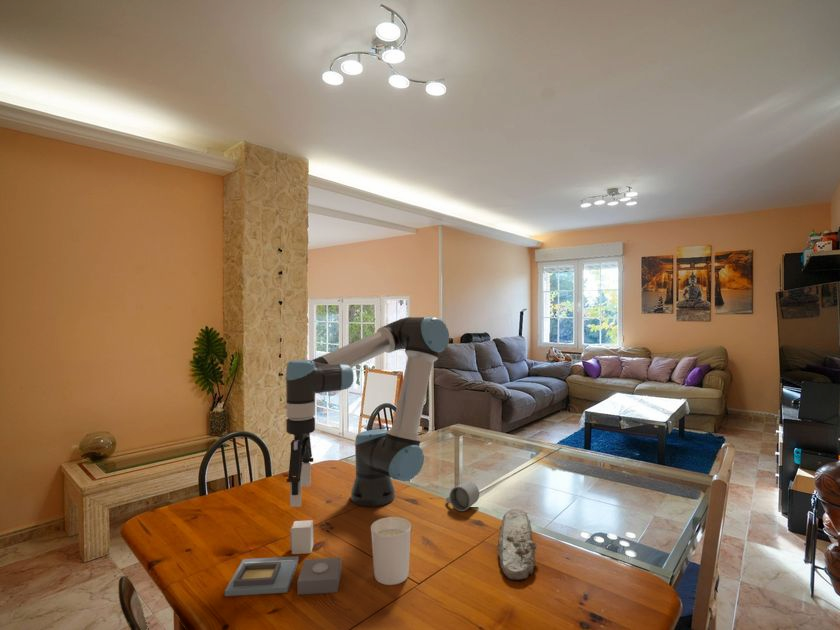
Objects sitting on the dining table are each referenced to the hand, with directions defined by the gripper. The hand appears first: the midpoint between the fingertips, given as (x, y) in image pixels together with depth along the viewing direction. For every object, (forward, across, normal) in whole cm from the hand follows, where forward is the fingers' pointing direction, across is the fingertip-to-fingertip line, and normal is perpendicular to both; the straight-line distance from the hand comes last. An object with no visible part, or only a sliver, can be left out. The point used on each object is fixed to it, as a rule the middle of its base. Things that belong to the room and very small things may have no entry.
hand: (301, 495), depth 119 cm
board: (+15, +12, -7) cm, 20 cm away
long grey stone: (+15, +3, +59) cm, 61 cm away
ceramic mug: (+14, -23, +48) cm, 55 cm away
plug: (+15, 0, 0) cm, 15 cm away
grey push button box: (+15, +15, +7) cm, 22 cm away
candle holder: (+15, +14, +24) cm, 32 cm away
